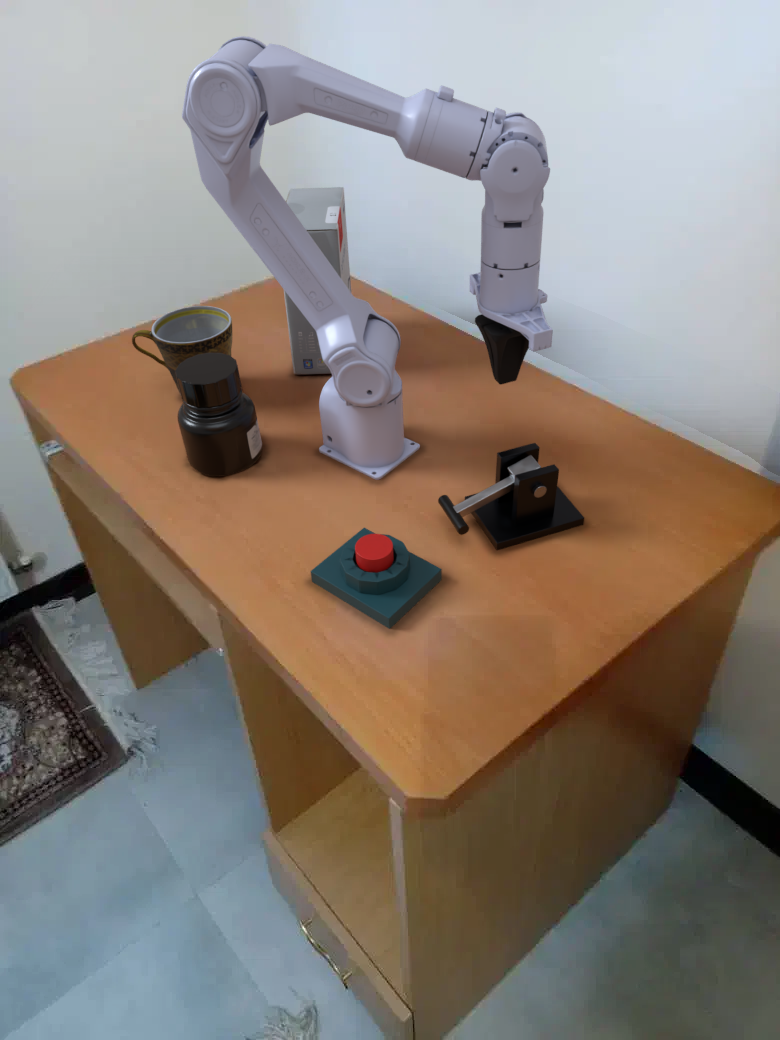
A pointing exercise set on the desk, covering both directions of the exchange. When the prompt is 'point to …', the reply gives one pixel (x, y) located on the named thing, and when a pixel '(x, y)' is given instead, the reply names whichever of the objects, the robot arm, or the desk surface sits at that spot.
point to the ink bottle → (216, 416)
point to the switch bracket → (526, 503)
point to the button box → (377, 581)
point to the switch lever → (484, 495)
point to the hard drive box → (329, 232)
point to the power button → (374, 553)
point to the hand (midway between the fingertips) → (505, 379)
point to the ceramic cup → (188, 335)
